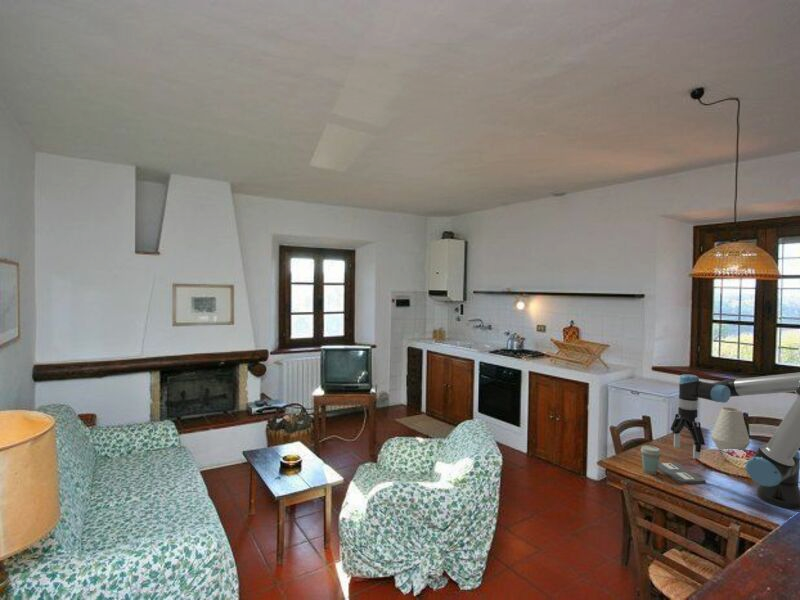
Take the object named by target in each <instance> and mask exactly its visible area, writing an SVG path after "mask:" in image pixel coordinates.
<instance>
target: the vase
mask: <svg viewBox="0 0 800 600" xmlns="http://www.w3.org/2000/svg"><path fill="white" fill-rule="evenodd" d="M748 433H749V432H748V430H747V426H746V423H745V419H744V415H743V413H742V410H741V409H739V408H734V407H729V406H728V407H727V406H723V407H721V408H720V410H719V413H718V416H717V419H716V420H715V423H714V426H713V428H712V430H711V433H710V438H711V439H712V440H713V443H714V444H715V446H716V448H717V449H718V450H719V451H720V449H738V450H744V451H746V449H747V447H749V446H750V444H751V440H750V436H749V434H748Z"/></svg>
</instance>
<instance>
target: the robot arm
mask: <svg viewBox="0 0 800 600" xmlns="http://www.w3.org/2000/svg"><path fill="white" fill-rule="evenodd" d="M678 386H679V389H678V395H679V396H678V407H677V408H678V409H677V410H678V413H676V414H674V415H675V417H674V420H673V422H672V424H671V427H670V431H672V433H673V448H681V436H682V435H681V431H683V429H684V428H686V429H687V430H688V431H689V433H690V435H691V437H692V440H693V448H692V449H693V450H692V452H693V453H692V458H693V459H700V458H701V451H702V446H705V445H706V442H705V439H704V436H703V431H702V428H701V421H700V422H699V421H698V422H697V421H696V418H698V404H699V399H703V400H707V401H713V402H715V403H723V404H725V403H728V401H729V400H730V398H731V397H742V396H743V397H744V396H756V395H757V396H758V395H769V394H780V393H782V394H783V393H795V394H796V399H795V401H794V402H793V403H792V405H791V407H790V408H789V409H788V411H787V412H786V414H785V416H784V417H783V419H782V421H781V422H780V424H779V425H778V427H777V428H776V430H775V432H774V433H773V434H772V436H771V438H770V439H769V441H768V442H767V443H766V444H761V445H760V446H759V447H758V449H757V451H756V452H755V453H754V455H753V456H752V457H750V458H749V459H748V460H747V461H746V463H745V471H746V473H747V475H748V476H749V478H750V479H751V480H752V481H753V482H755V483H757V484H758V485H759V486H758V487H757V488H756V496H757V497H758V498H759V499H760V500H762V501H764V502H766V503H768V504H771V505H774V506H777V507H781V508H785V509H795V508H798V509H800V488H799V480H800V479H799V478H800V452H799V451H798V450H799V449H800V372H791V373H782V374H780V373H779V374H772V375H762V376H755V377H744V378H743V377H742V378H736V379H723V380H721V381H715V382H706V381H705V382H704V381H701V380H700V377H699V376H698V375H695V374H689V373H688V374H685V373H683V374H681V375H680V377H679V383H678Z"/></svg>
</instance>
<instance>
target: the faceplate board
mask: <svg viewBox="0 0 800 600" xmlns="http://www.w3.org/2000/svg"><path fill="white" fill-rule="evenodd" d="M657 471H660V472H661V473H662V472H663V473H662V474H664V475H665V474H666V475H665V476H666V477H668V476H669V477H668V478H670V479H671V480H672V479H673V481H674V482H675V481H676V482H675V483H677V484H706V480H705V479H703V478H702V477H701V476H699V475H698V474H696V473H694V472H692V471H691V470H690V469H688V468H687V467H684V466H683V465H682V464H680V463H678V462H659V463H658V469H657Z"/></svg>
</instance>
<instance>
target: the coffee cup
mask: <svg viewBox="0 0 800 600" xmlns="http://www.w3.org/2000/svg"><path fill="white" fill-rule="evenodd" d="M660 450H661V449H660V448H659V447H657V446H653V445H648V444H647V445H646V444H645V445H644V444H643V445H642V446H641V448H640V453H641V462H642V472H643V473H645V474H646V475H651V476H654V475H657V474H658V463H660V457H661V451H660Z"/></svg>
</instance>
